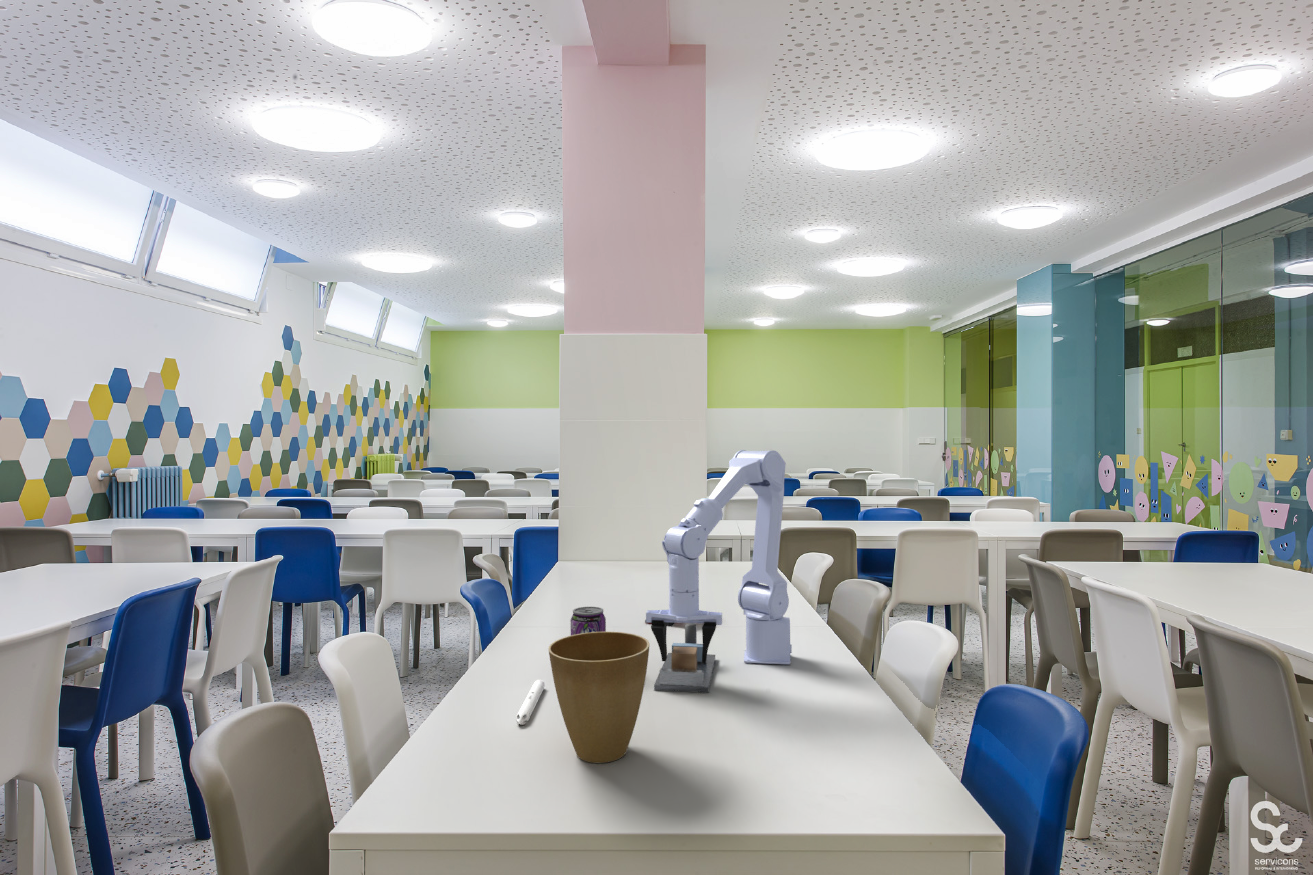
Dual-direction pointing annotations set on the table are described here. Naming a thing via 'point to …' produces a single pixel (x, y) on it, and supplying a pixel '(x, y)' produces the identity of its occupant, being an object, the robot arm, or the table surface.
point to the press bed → (685, 677)
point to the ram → (691, 640)
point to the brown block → (684, 658)
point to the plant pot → (600, 690)
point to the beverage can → (588, 620)
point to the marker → (530, 702)
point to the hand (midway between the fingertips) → (684, 660)
